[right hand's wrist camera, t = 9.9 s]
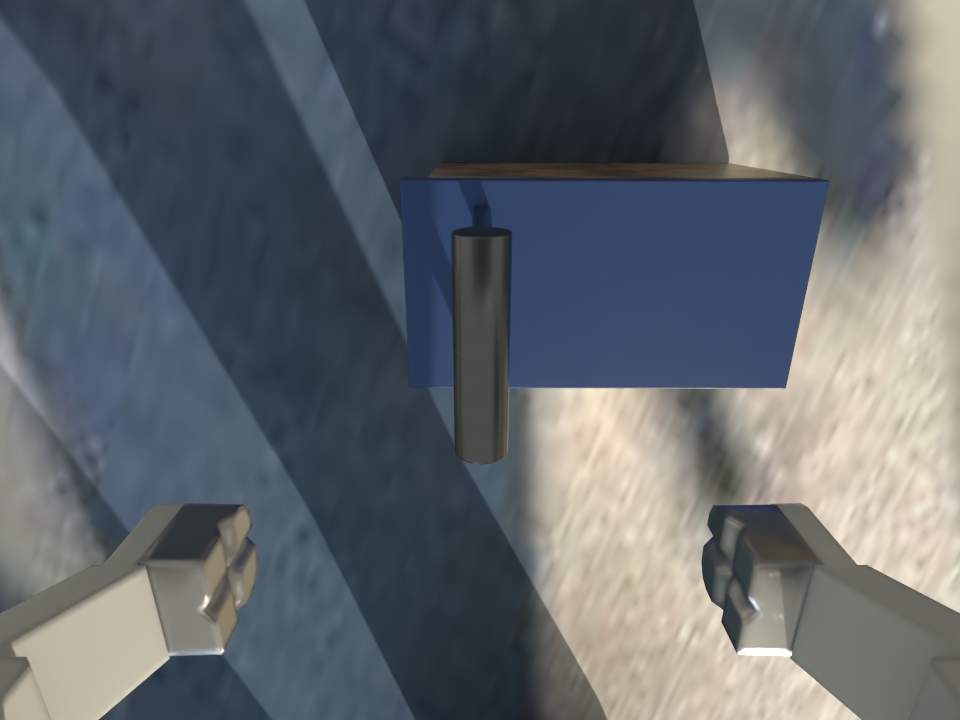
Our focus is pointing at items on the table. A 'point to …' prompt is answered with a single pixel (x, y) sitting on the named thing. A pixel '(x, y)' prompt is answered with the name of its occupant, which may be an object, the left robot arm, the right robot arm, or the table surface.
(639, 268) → the lid
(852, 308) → the table surface
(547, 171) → the chest
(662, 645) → the table surface
